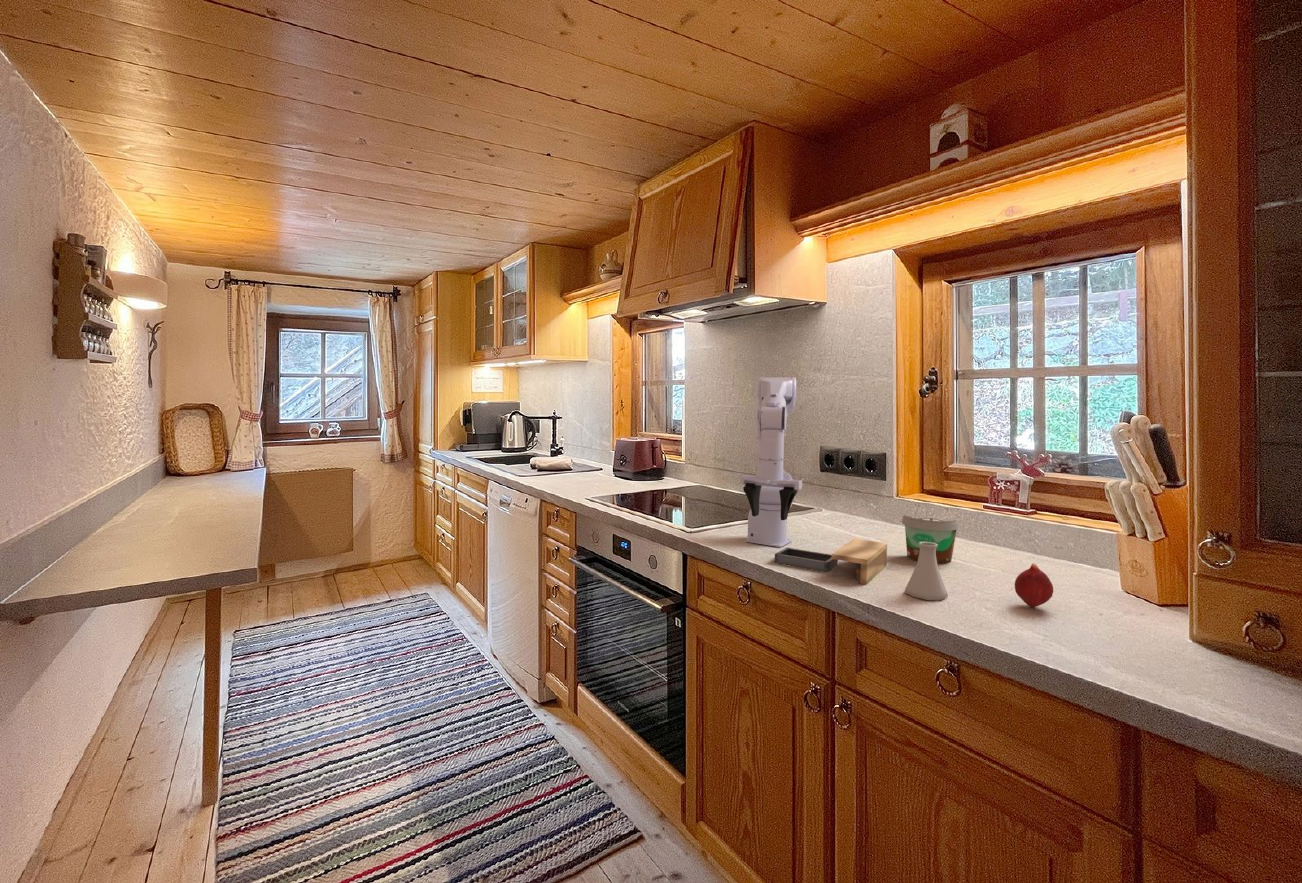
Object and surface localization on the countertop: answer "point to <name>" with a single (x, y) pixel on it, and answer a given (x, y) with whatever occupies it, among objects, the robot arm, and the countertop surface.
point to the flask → (926, 575)
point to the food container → (930, 536)
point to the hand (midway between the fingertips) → (769, 517)
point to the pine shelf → (864, 557)
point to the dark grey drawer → (806, 559)
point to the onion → (1033, 586)
